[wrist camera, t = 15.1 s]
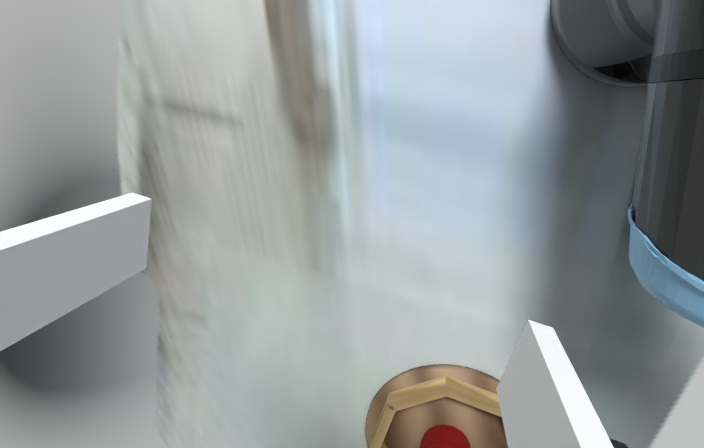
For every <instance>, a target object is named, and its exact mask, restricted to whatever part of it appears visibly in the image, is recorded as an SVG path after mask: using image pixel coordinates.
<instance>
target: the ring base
mask: <svg viewBox="0 0 704 448" xmlns="http://www.w3.org/2000/svg"><path fill="white" fill-rule="evenodd" d="M498 384H499V380H497V379H496V378H494V377H492V376H490V375H488V374H486V373H483V372H481V371H478V370H475V369H471V368H468V367H463V366H458V365H446V364H441V365H428V366H421V367H417V368H414V369H410V370H408V371H405V372H403V373H401V374H399V375H397V376H396V377H394V378H392V379H391V380H390V381H388V382H387V383H386V384H385V385H384V386H383V387H382V388H381V389H380V390H379V391H378V392H377V394H376V395H375V397H374V398H373V400H372V402H371V405H370V407H369V411H368V414H367V419H366V427H365V431H366V440H367V445H368V448H420V444H421V440H422V438H423V435H424V434H425V432H426V431H427V430H428V429H429V428H431V427H433V426H435V425H449V426H454V427H455V428H457V429H459V430H461V431H462V432H463V433H464V434H465V436H466V437H467V439H468V441H469V443H470V446H471V448H508V445H507V440H506V435H505V430H504V425H503V420H502V415H501V410H500V405H499V400H498V395H497V390H496V388H497V386H498Z"/></svg>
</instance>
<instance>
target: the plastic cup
mask: <svg viewBox="0 0 704 448" xmlns="http://www.w3.org/2000/svg"><path fill="white" fill-rule="evenodd" d="M420 448H471V446H470V443H469V441H468V439H467V437H466V436H465V434H464V433H463V432H462V431H461V430H459V429H457V428H455V427H454V426H449V425H435V426H433V427H431V428H429V429H428V430H427V431H426V432H425V434H424V435H423V438H422V440H421V444H420Z"/></svg>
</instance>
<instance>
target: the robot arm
mask: <svg viewBox="0 0 704 448" xmlns="http://www.w3.org/2000/svg"><path fill="white" fill-rule="evenodd" d="M551 17H552V24H553V29H554V33H555V36H556V39H557V42H558V44H559V46H560V48H561V50H562V51H563V53H564V54H565V56H566V57H567V59H568V60H569V61H570V62H571V63H572V64H573V65H574V66H575V67H576V68H577V69H578V70H579V71H581V72H582V73H584V74H585V75H587V76H589V77H590V78H593V79H595V80H597V81H600V82H602V83H606V84H610V85H615V86H625V87H635V86H647V93H646V100H645V108H644V116H643V124H642V132H641V139H640V147H639V155H638V163H637V171H636V179H635V186H634V194H633V201H632V202H631V203H630V204H629V209H628V220H629V223H630V226H631V230H630V244H629V260H630V265H631V268H632V270H633V271H634V272H635V274H636V276H637V278H638V279H639V282H640V283H641V285H642V286H643V287H644V288H645V289H646V290H647V291H648V292H649V293H650V294H651V295H652V296H654V297H655V298H656V299H657V300H658V301H660V302H661V303H662V304H664V305H665V306H666V307H668V308H669V309H671V310H672V311H674V312H676V313H677V314H679V315H681V316H683V317H684V318H686V319H688V320H690V321H692V322H694V323H696V324H698V325H700V326H702V327H704V0H552V1H551ZM693 79H696V80H693ZM682 80H684V81H682ZM670 81H672V82H670ZM151 201H152V199H150V198H147V197H144V196H141V195H138V194H135V193H129V194H126V195H123V196H119V197H116V198H113V199H109V200H106V201H103V202H99V203H96V204H93V205H89V206H86V207H82V208H79V209H76V210H72V211H69V212H66V213H63V214H59V215H55V216H52V217H49V218H45V219H42V220H39V221H35V222H32V223H29V224H25V225H22V226H19V227H15V228H12V229H8V230H5V231H2V232H0V351H2V350H3V349H5V348H7V347H9V346H10V345H12V344H14V343H16V342H17V341H19V340H21V339H22V338H24V337H26V336H28V335H30V334H31V333H33V332H35V331H37V330H38V329H40V328H42V327H44V326H45V325H47V324H49V323H51V322H52V321H54V320H56V319H58V318H59V317H61V316H63V315H65V314H66V313H68V312H70V311H72V310H73V309H75V308H77V307H79V306H80V305H82V304H84V303H86V302H87V301H89V300H91V299H93V298H95V297H96V296H98V295H100V294H102V293H103V292H105V291H107V290H108V289H110V288H112V287H114V286H115V285H117V284H119V283H121V282H123V281H124V280H126V279H128V278H130V277H131V276H133V275H135V274H137V273H138V272H140V271H142V270H144V269H146V264H147V251H148V239H149V226H150V214H151ZM496 390H497V395H498V400H499V405H500V410H501V415H502V420H503V425H504V430H505V435H506V440H507V445H508V448H628V447H627V446H626V445H625V444H624V443H621V442H618V441H615V440H612V439H609V437H608V435H607V433H606V431H605V429H604V427H603V425H602V423H601V421H600V419H599V417H598V415H597V413H596V411H595V409H594V407H593V405H592V403H591V401H590V399H589V397H588V396H587V394H586V392H585V390H584V388H583V386H582V384H581V382H580V380H579V378H578V376H577V374H576V372H575V370H574V368H573V366H572V364H571V362H570V360H569V358H568V356H567V354H566V352H565V350H564V348H563V346H562V344H561V342H560V340H559V338H558V336H557V334H556V332H555V330H554V328H553V327H549V326H546V325H543V324H540V323H537V322H534V321H531V320H528V321H527V323H526V326H525V328H524V330H523V332H522V334H521V336H520V339H519V341H518V343H517V345H516V347H515V349H514V351H513V354H512V356H511V358H510V360H509V362H508V364H507V366H506V369H505V371H504V373H503V375H502V377H501V379H500V381H499V384H498V386H497V388H496Z"/></svg>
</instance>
